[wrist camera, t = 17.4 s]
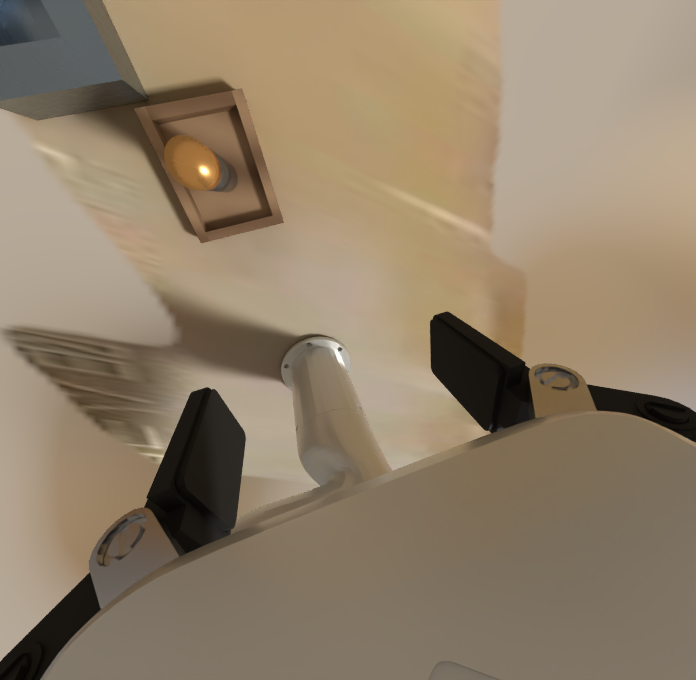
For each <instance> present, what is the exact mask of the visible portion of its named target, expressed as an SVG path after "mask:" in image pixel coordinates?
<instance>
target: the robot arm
mask: <svg viewBox="0 0 696 680" xmlns="http://www.w3.org/2000/svg"><path fill="white" fill-rule="evenodd" d="M430 342H431V369H432V372H433V374H434V375H435V376H436V377H437V378H438V379H439V380H440V381H441V383H442V384H443V385H444V386H445V387H446V388H447V389H448V390H449V391H450V393H451V394H452V395H453V396H454V397H455V398H456V399H457V400H458V401H459V403H460V404H461V405H462V406H463V407H464V408H465V409H466V410H467V411H468V412H469V414H470V415H471V416H472V417H473V418H474V419H475V420H476V421H477V422H478V424H479V425H480V426H481V427H482V428H483V429H484V430H486V431H488V430H489V431H490V432H491V434H489V435H486V436H483V437H480V438H478V439H475V440H472V441H470V442H467V443H464V444H462V445H459V446H457V447H454V448H451V449H449V450H446V451H443V452H441V453H438V454H436V455H433V456H430V457H428V458H425V459H422V460H420V461H417V462H415V463H412V464H409V465H407V466H404V467H402V468H399V469H396V470H394V471H392V469H391V467H390V466H389V464H388V462H387V460H386V459H385V457H384V455H383V453H382V451H381V449H380V447H379V445H378V443H377V440H376V438H375V436H374V434H373V431H372V429H371V427H370V424H369V422H368V420H367V418H366V415H365V413H364V410H363V408H362V406H361V403H360V401H359V398H358V396H357V394H356V391H355V389H354V387H353V384H352V382H351V379H350V377H349V374H350V371H351V366H352V362H351V357H350V355H349V352H348V351H347V349H346V348H345V346H344V345H343V344H341V343H340V342H339V341H337V340H335V339H333V338H329V337H321V336H318V337H311V338H307V339H304V340H302V341H300V342H298V343H296V344H295V345H293V346H292V347H291V348H290V349H289V350H288V351H287V353H286V354H285V356H284V358H283V360H282V365H281V374H282V379H283V381H284V383H285V384H286V386H287V387H288V388H289V389H290V390H292V394H293V405H294V416H295V426H296V437H297V447H298V454H299V458H300V461H301V463H302V465H303V467H304V469H305V470H306V472H307V473H308V474H309V475H310V477H311V478H312V479H313V480H315V481H316V482H317V483H318V484H319V485H320V487H317V488H314V489H313V490H311V491H307V492H304V493H301V494H298V495H295V496H291V497H288V498H286V499H282V500H279V501H276V502H273V503H270V504H267V505H264V506H262V507H259V508H257V509H254V510H252V511H249V512H248V513H245V514H244V515H242V516H241V517H239V518H238V519H237V520H236V517H237V509H238V501H239V492H240V484H241V475H242V466H243V458H244V449H245V441H246V437H245V433H244V430H243V429H242V427H241V426H240V425H239V423H238V422H237V420H236V419H235V417H234V416H233V414H232V413H231V411H230V410H229V408H228V407H227V405H226V404H225V403H224V401H223V400H222V398H221V397H220V395H219V394H218V392H217V391H216V390H215V389H212V390H211V389H210V388H208V387H207V388H203V389H200V390H197V391H194V392H192V393H191V394H190V396H189V399H188V401H187V403H186V406H185V408H184V410H183V413H182V415H181V417H180V420H179V422H178V424H177V427H176V429H175V432H174V434H173V436H172V439H171V441H170V443H169V446H168V448H167V450H166V453H165V455H164V457H163V460H162V462H161V465H160V467H159V469H158V472H157V474H156V476H155V479H154V481H153V483H152V486H151V488H150V491H149V493H148V495H147V499H148V500H147V502H146V505H145V507H144V508H138V509H134V510H132V511H130V512H129V513H127V514H125V515H124V516H122V517H121V518H120V519H118V520H117V521H116V522H115V523H114V524H113V525H112V526H111V527H110V528H108V530H106V532H105V533H104V534H103V536H102V537H101V538H100V539H99V541H98V542H97V544H96V546H95V548H94V549H93V551H92V554H91V557H90V560H89V570H90V573H89V574H88V575H87V576H86V577H85V578H84V579H83V580H82V581H81V582H80V583H79V584H78V585H77V586H76V587H75V588H74V589H73V590H72V591H71V592H70V593H69V594H68V595H66V596H65V597H64V599H62V600H61V602H59V603H58V605H56V606H55V608H53V609H52V610H51V612H49V614H47V615H46V616H45V617H44V618H43V619H42V620H41V621H40V622H39V624H37V625H36V627H34V628H33V629H32V630H31V631H30V632H29V633H28V634H27V635H26V636H25V637H24V638H23V639H22V641H20V642H19V643H18V644H17V645H16V646H15V647H14V648H13V649H12V650H11V651H10V652H9V653H8V654H7V655H6V656H5V657H4V658H3V660H2V661H1V662H0V680H696V412H694V411H693V410H691V409H690V408H688V407H686V406H684V405H682V404H680V403H678V402H675V401H672V400H670V399H666V398H662V397H657V396H653V395H647V394H641V393H635V392H629V391H623V390H617V389H610V388H605V387H599V386H593V385H587V384H586V382H585V380H584V378H583V377H582V376H581V375H580V374H578V373H577V372H576V371H574V370H572V369H570V368H567V367H564V366H561V365H557V364H538V365H535V366H533V367H532V368H531V369H530V368H528V367H527V366H525V362H524V361H522V360H521V359H519V358H518V357H516V356H515V355H513V354H512V353H510V352H509V351H507V350H506V349H504V348H503V347H501V346H500V345H498V344H497V343H495V342H494V341H492V340H491V339H489V338H488V337H486V336H484V335H483V334H481V333H480V332H478V331H477V330H475V329H474V328H472V327H471V326H469V325H468V324H466V323H465V322H463V321H462V320H460V319H459V318H457V317H456V316H454V315H453V314H451V313H450V312H444V313H441V314H437V315H435V316H434V317H433V319H432V320H431V321H430Z"/></svg>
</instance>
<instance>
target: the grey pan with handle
mask: <svg viewBox="0 0 696 680" xmlns="http://www.w3.org/2000/svg"><path fill="white" fill-rule="evenodd" d="M147 100H148V97H147V95H146V93H145V91H144V89H143V87H142V85H141V83H140V80H139V78H138V76H137V74H136V72H135V70H134V68H133V66H132V63H131V61H130V59H129V57H128V55H127V53H126V51H125V48H124V46H123V44H122V42H121V40H120V38H119V36H118V34H117V31H116V29H115V27H114V25H113V23H112V21H111V19H110V17H109V14H108V12H107V10H106V8H105V6H104V4H103V2H102V0H0V108H1V109H4V110H7V111H10V112H13V113H17V114H20V115H23V116H26V117H29V118H32V119H35V120H42V119H48V118H53V117H59V116H64V115H70V114H75V113H81V112H86V111H92V110H97V109H103V108H108V107H114V106H119V105H125V104H130V103H136V102H141V101H147Z"/></svg>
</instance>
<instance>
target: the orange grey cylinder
mask: <svg viewBox="0 0 696 680" xmlns="http://www.w3.org/2000/svg"><path fill="white" fill-rule="evenodd" d="M164 159H165V163H166V166H167V169H168V170H169V172H170V174H171V175H172V176H173V178H174V179H175V180H176V181H177V182H179V183H180V184H181V185H183V186H185V187H186V188H189V189H193V190H202V191H215V192H230V191H232V190H234V189H235V187H236V186H237V182H238V177H237V173H236V170H235V169H234V167H233V166H232V165H231V164H230V163H229V162H228V161H226V160H225V159H224V158H222V157H221V156H219V155H218V154H216V153H215V152H214V151H212V150H211V149H209V148H208V147H207V146H205V145H204V144H202V143H201V142H199V141H198V140H196V139H195V138H192V137H190V136H186V135H178V136H175V137H173V138H171V139H170V140H169V141H168V142H167V144H166V146H165V149H164Z"/></svg>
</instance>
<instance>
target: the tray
mask: <svg viewBox="0 0 696 680" xmlns="http://www.w3.org/2000/svg"><path fill="white" fill-rule="evenodd" d="M134 110H135V112H136V114H137V116H138V118H139V120H140V122H141V124H142V126H143V128H144V130H145V132H146V134H147V136H148V138H149V140H150V142H151V144H152V146H153V148H154V150H155V152H156V154H157V156H158V158H159V160H160V162H161V164H162V166H163V168H164V170H165V172H166V174H167V176H168V178H169V180H170V182H171V184H172V186H173V188H174V190H175V192H176V194H177V196H178V198H179V200H180V202H181V204H182V206H183V208H184V210H185V212H186V214H187V216H188V218H189V220H190V222H191V224H192V226H193V228H194V230H195V232H196V234H197V236H198V238H199V240H200V242H201V243H204V242H208V241H212V240H216V239H220V238H224V237H228V236H232V235H236V234H240V233H244V232H248V231H252V230H256V229H260V228H264V227H268V226H272V225H276V224H280V223H284V222H283V219H282V215H281V212H280V209H279V206H278V203H277V199H276V196H275V193H274V190H273V187H272V183H271V180H270V177H269V174H268V171H267V167H266V164H265V161H264V158H263V154H262V151H261V148H260V145H259V142H258V138H257V135H256V132H255V129H254V126H253V122H252V119H251V116H250V113H249V110H248V106H247V103H246V100H245V97H244V93H243V90H242V89H237V90H232V91H226V92H221V93H215V94H210V95H205V96H199V97H194V98H188V99H183V100H177V101H172V102H167V103H161V104H156V105H150V106H145V107H139V108H134ZM178 135H186V136H190V137H192V138H195V139H196V140H198V141H199V142H201V143H202V144H204V145H205V146H207V147H208V148H209V149H211V150H212V151H214V152H215V153H216V154H218V155H219V156H221V157H222V158H224V159H225V160H226V161H228V162H229V163H230V164H231V165H232V166H233V167H234V169H235V170H236V173H237V177H238V182H237V186H236V187H235V189H234V190H232V191H230V192H215V191H202V190H193V189H189V188H186V187H185V186H183V185H181V184H180V183H179V182H177V181H176V180H175V179H174V178H173V176H172V175H171V174H170V172H169V170H168V169H167V166H166V163H165V159H164V149H165V146H166V144H167V142H168V141H169V140H170V139H171V138H173V137H175V136H178Z"/></svg>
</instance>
